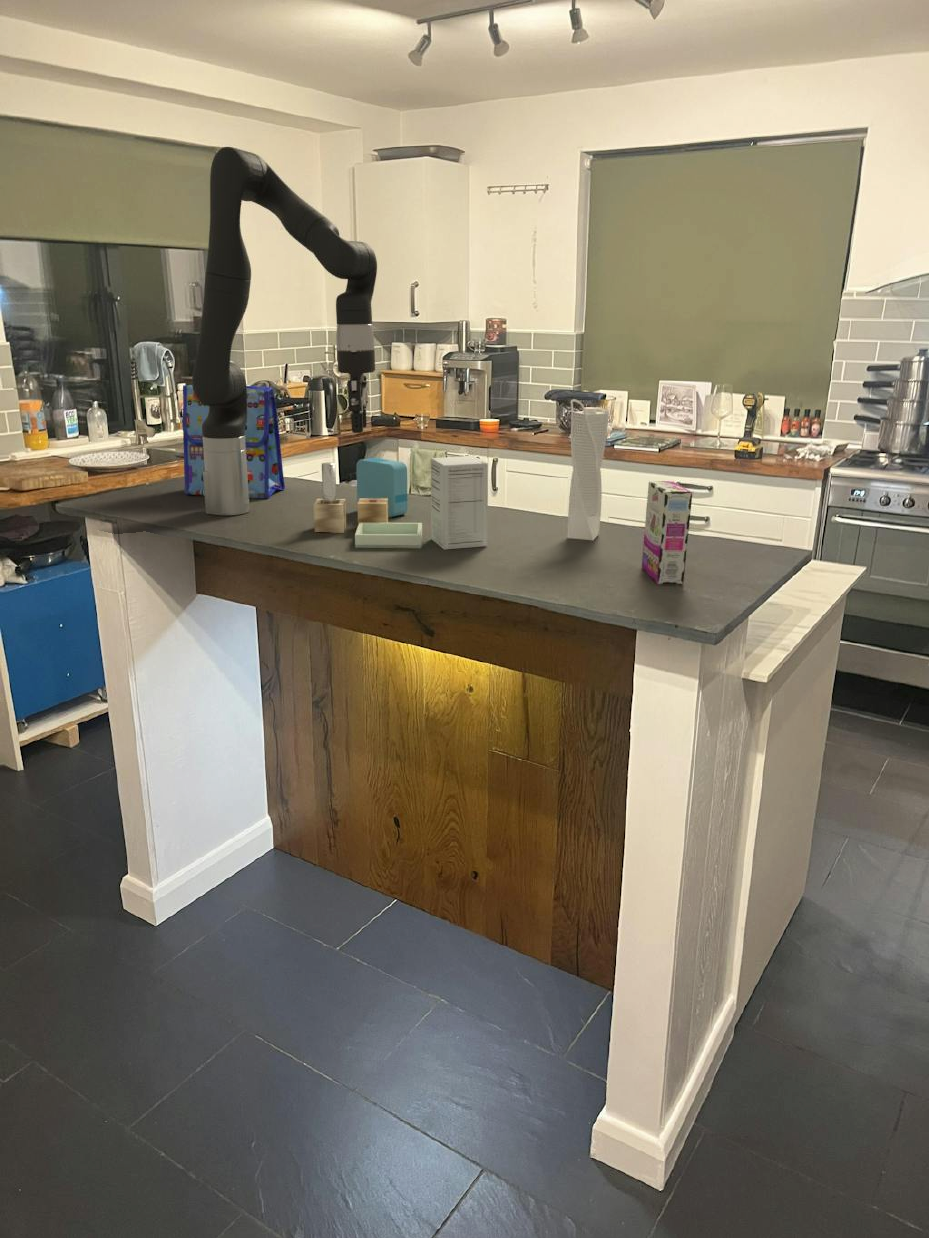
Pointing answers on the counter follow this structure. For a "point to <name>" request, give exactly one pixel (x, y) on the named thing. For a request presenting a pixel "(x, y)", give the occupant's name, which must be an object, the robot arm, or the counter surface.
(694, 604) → the counter surface
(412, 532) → the tray
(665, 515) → the candy bar box
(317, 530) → the beech block wide bore
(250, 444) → the lunch bag
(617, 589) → the counter surface
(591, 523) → the skyscraper
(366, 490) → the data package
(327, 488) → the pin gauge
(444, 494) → the supplement box
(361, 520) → the oak block narrow bore
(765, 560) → the counter surface
